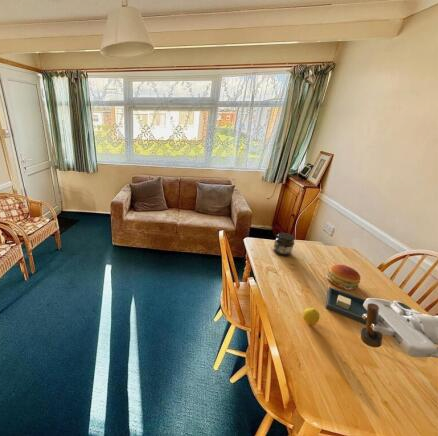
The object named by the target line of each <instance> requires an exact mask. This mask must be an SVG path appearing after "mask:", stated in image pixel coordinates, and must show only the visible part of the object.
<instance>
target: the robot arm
mask: <svg viewBox="0 0 438 436" xmlns="http://www.w3.org/2000/svg"><path fill="white" fill-rule="evenodd" d="M369 303H373V304H376V305H378V307H379V313H378V323H379V324H380V325H381V326H382V327H381V326H380V325H379V324H371V326H370V327H371V328H372V329H373V331H378V332H380V333H381V334H382V335H385V336H387V337H390V338H391V339H392V340H393V341H394V342H395V343H396V344H397V345H398V347H399V348H400V349H401V350H402V351H403V352H404V353H405V354H406V355H408V356H410V357H412V358H413V357H414V358H431V357H432V358H436V359H438V315H430V314H428V313H422V312H420V311H419V310H416V309H414V308H412V307H410V306H409V305H407V304H406V303H404V302H402V301H400V300H393V301H391V300H388V299H384V298H378V297H377V298H376V297H367V298H366V299H365V302H364V304H363V306H364V308H365V309H366V310H367V305H368V304H369ZM362 318H363V319H364V320H365V321H367V314H363V316H362Z"/></svg>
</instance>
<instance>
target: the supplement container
mask: <svg viewBox="0 0 438 436" xmlns="http://www.w3.org/2000/svg"><path fill="white" fill-rule="evenodd" d="M295 240H296V237H295V236H294V235H292V234H291V233H288V232H279V233H278V234H277V235H276V237H275V240H274V243H273V248H272V251H273V252H274V253H275V254H276V253H277V255H278V254H279V256H281V255H282V256H281V257H289V256H291V255H292V253H293V252H292V251H293V249H294V246H295Z"/></svg>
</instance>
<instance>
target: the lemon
mask: <svg viewBox="0 0 438 436" xmlns="http://www.w3.org/2000/svg"><path fill="white" fill-rule="evenodd" d="M302 319H303V320H304V322H305V323H307V324H308V325H316V324H317V323H318V322H319V321H320V313H319V312H318V310H316V309H315V308H314V307H308V308H306V309H305V310H303V313H302Z"/></svg>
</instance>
